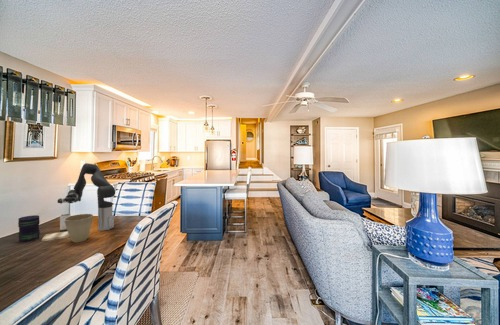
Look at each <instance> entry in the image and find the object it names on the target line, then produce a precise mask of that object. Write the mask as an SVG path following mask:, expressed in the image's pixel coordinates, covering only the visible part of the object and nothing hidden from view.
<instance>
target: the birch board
mask: <svg viewBox="0 0 500 325" xmlns="http://www.w3.org/2000/svg"><path fill="white" fill-rule="evenodd" d="M69 238H70V236H69V234H68V231H67V232H60V231H59V232H52V233H47V234H45V235H44V236H43V237H42V239H41V242H47V241H49V242H50V241H54V240H62V239H69Z"/></svg>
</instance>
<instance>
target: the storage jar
mask: <svg viewBox="0 0 500 325" xmlns="http://www.w3.org/2000/svg"><path fill="white" fill-rule="evenodd" d="M40 222H41V221H40V215H39V214H38V215H37V214H36V215H27V216H21V217H19V218H18V221H17V223H18V224H17V227H18V235H17V237H18V243H29V242H33V241H37V240H39V239H40V238H41V237H40V233H41V232H40V231H41V230H40Z"/></svg>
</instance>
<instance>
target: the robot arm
mask: <svg viewBox="0 0 500 325" xmlns="http://www.w3.org/2000/svg"><path fill="white" fill-rule="evenodd" d="M85 175H91V178H90V181H91V183H92V184H93V185H94V186H95V187H97V191H96V194H97V219H98V220H97V224H98V225H97V228H98V229H97V230H98V231H99V232H100V231H109V230H112V229H113V228H115V223H114V222H115V215H113V202H111V201H107V200H105V199H108V198H113V197H114V196H115V195H116V189H115V187H114V186H113V185H112V184H111V183H110V182H109V181H108V180H107V178H106V177H105V176H104V174H103V172H102V171H101V169H100V167H99V166H98V165H97V164H95V163H94V164H93V163H84V164H83V165H82V167H81V169H80V172H79V176H78V178H77V181H76V183H75V184H74V187H73V189H70V190H69V191H68V192H67V195H66V196H65V197H64V198H62V197H61V198H58V199H57V204H60V205H61V204H64V203H65V204H66V203H67V204H74V203H77V202H81V201H82V196H83V193H84V189H85V187H86V185H87V180H86V178H85Z"/></svg>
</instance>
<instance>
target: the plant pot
mask: <svg viewBox="0 0 500 325" xmlns="http://www.w3.org/2000/svg"><path fill="white" fill-rule="evenodd" d="M64 220H65V224H66V228H67V231H68V234H69V236H70V237H69V238H70V240H71V241H72V243H76V244H77V243H82V242H84V241H87V239H88V237H89V234H90V232H91V228H92V224H93V220H94V214H93V213H81V214H74V215H70V217H67V218H65V219H64Z"/></svg>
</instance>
